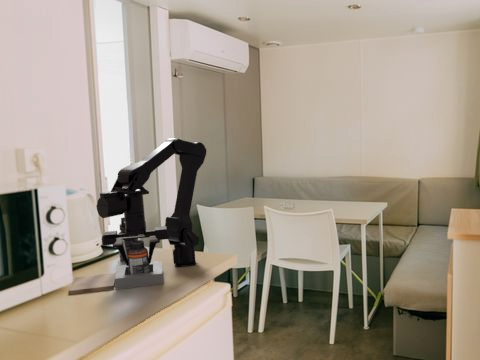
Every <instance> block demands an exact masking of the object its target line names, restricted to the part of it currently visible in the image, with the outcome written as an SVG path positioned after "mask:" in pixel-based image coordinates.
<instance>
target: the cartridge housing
mask: <svg viewBox="0 0 480 360" xmlns="http://www.w3.org/2000/svg"><path fill="white" fill-rule="evenodd" d="M162 266H163V265H162V261H161V260H159V261H151V263H150V264H149V268H150V272H149V273H140V274H131V275H129V267H128V266H127V265H126V264H121V265H117V268H116V272H115V273H116V275H115V287H114V289H115V290H121V289H123V290H124V289H131V288H141V287H149V286H156V285H163V284H164V279H163V267H162Z"/></svg>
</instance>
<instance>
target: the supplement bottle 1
mask: <svg viewBox="0 0 480 360" xmlns="http://www.w3.org/2000/svg"><path fill="white" fill-rule="evenodd" d="M122 233H126V230H125V229H122V227H121V223H120V224H119V232H118V234H122ZM136 240H139V238H138V239H128V240H124V242H125V248H126V253H127V252H128V250H129V249H130V242H132V241H136ZM118 253H119V259H120V260H121V261H122V262H123V261H124V259H123V257H122V255H121V253H120V252H119V251H118ZM124 262H125V261H124Z"/></svg>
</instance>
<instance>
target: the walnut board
mask: <svg viewBox="0 0 480 360" xmlns="http://www.w3.org/2000/svg"><path fill="white" fill-rule="evenodd" d="M115 275H116V272H111V273H103V274H93V275H85V276H84V275H83V276H77V277H76V276H75V277H74V278H73V281H72V282H71V285H70V287H69V289H68V292H67V293H68V295H74V294H83V293H92V292H93V293H94V292H100V291H109V290H114V289H115Z"/></svg>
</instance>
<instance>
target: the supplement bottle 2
mask: <svg viewBox="0 0 480 360" xmlns="http://www.w3.org/2000/svg"><path fill="white" fill-rule="evenodd" d="M127 257H128V267H129V275H131V274H140V273H149V272H150V268H149V249H148V248H147V247H146V246H145V242H144V240H140V239H138V240H136V241H132V242H130V249H129V250H128V252H127Z"/></svg>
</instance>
